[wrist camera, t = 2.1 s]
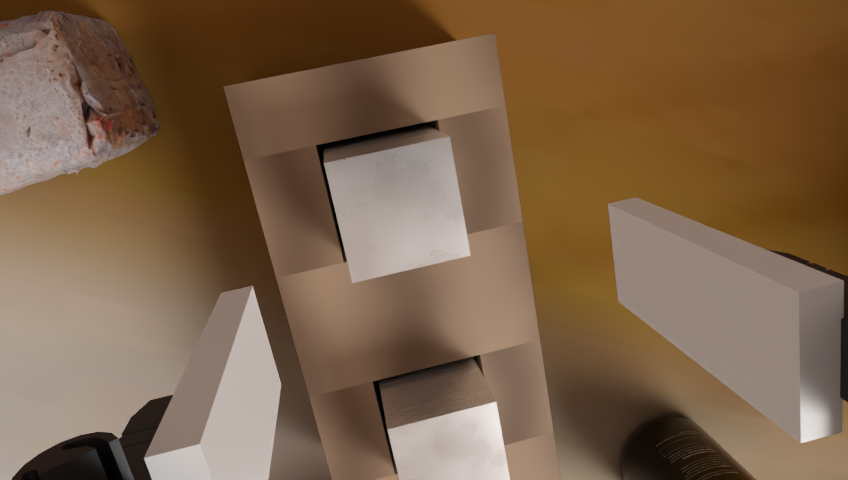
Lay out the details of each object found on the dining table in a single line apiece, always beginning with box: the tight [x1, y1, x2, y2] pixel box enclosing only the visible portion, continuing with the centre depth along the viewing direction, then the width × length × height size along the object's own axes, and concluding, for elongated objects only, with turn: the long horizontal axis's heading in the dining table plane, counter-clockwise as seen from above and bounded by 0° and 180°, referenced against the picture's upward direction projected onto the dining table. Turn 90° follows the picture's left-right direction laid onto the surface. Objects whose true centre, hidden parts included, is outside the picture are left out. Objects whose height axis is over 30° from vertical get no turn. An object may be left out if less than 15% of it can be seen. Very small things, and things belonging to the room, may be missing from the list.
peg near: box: [324, 123, 471, 283], centre depth 28 cm, size 5×5×7 cm
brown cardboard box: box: [223, 33, 561, 480], centre depth 34 cm, size 12×24×8 cm, turn 11°
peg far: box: [379, 357, 510, 480], centre depth 31 cm, size 5×5×7 cm
